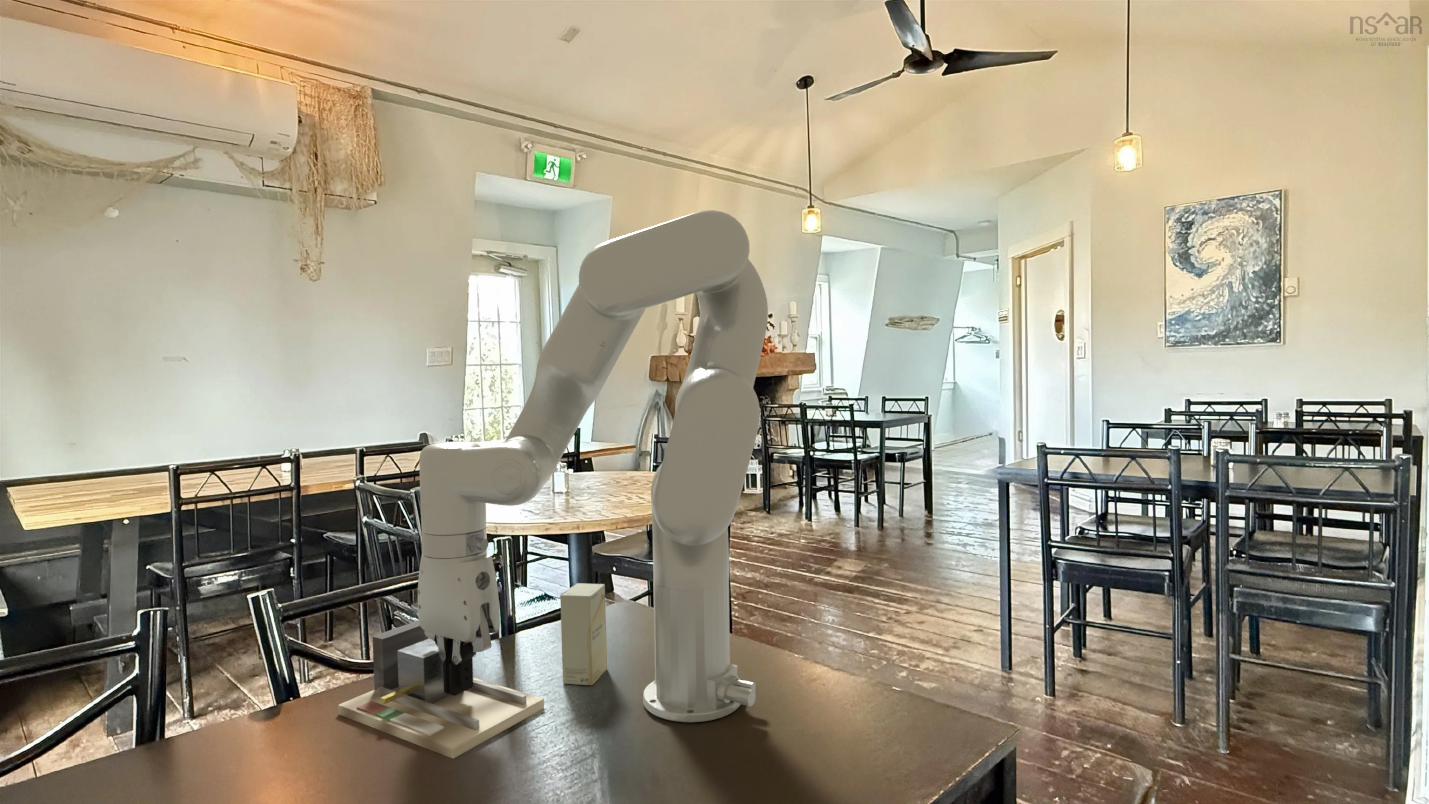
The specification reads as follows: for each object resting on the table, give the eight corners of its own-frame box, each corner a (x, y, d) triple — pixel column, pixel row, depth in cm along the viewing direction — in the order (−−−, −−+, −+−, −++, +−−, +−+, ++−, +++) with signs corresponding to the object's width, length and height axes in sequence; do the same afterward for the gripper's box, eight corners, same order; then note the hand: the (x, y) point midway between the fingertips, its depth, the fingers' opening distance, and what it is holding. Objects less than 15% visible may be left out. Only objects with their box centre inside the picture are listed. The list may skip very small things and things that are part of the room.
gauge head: (464, 688, 99) (462, 642, 99) (396, 719, 90) (394, 669, 90) (438, 679, 102) (437, 635, 101) (370, 709, 93) (368, 661, 93)
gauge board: (544, 708, 96) (542, 643, 95) (453, 758, 84) (450, 685, 83) (433, 673, 107) (430, 615, 106) (338, 714, 95) (335, 649, 94)
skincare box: (592, 687, 102) (590, 597, 101) (561, 684, 103) (558, 595, 102) (608, 668, 108) (606, 583, 107) (578, 666, 109) (576, 581, 108)
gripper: (521, 544, 93) (524, 692, 94) (438, 530, 101) (442, 667, 102) (472, 558, 87) (477, 716, 88) (388, 542, 94) (393, 688, 95)
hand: (458, 690), depth 95 cm, fingers closed
